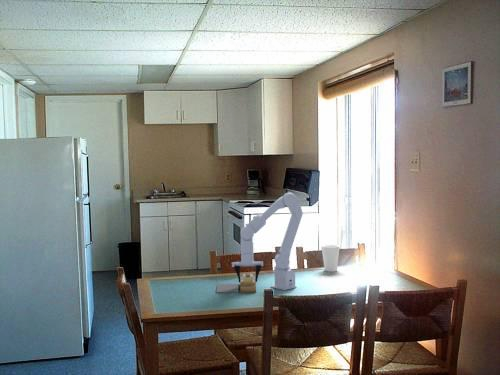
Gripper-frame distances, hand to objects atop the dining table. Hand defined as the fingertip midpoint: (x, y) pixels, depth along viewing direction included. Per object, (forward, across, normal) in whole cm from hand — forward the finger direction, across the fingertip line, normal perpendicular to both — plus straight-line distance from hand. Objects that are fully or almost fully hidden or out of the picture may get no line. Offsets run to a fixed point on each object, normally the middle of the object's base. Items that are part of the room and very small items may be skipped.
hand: (247, 281), depth 272 cm
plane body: (+3, 0, 0) cm, 3 cm away
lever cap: (0, 0, 0) cm, 0 cm away
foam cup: (+3, -45, -36) cm, 57 cm away
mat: (+3, +10, 0) cm, 10 cm away
